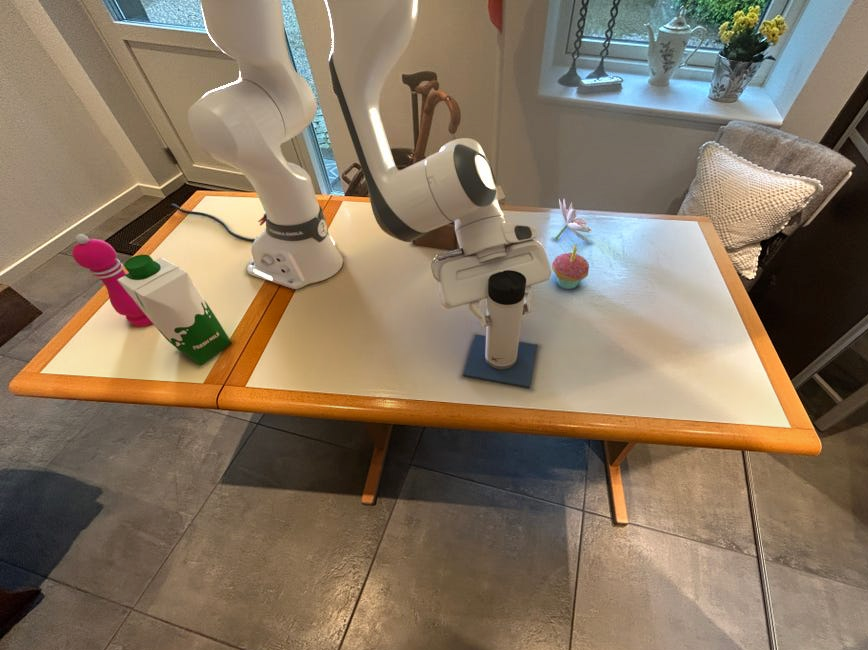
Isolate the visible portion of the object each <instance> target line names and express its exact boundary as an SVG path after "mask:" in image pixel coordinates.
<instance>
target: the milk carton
mask: <svg viewBox="0 0 868 650" xmlns="http://www.w3.org/2000/svg"><path fill="white" fill-rule="evenodd" d="M123 268H124V269H125V270H126V271H127V272H128V273H126V275H124V277H121V278H119V279H118V281H119V283H120V284H121V285H122V286H123V288H124V289H125V290H126V292H127V293H128V294H129V295H130V296H131V297H132V299H133V300H134V301H135V302H136V304H137V305H138V306H139V307H140V309H141V310H142V311H143V312H144V313H145V315H146V316H147V317H148V318H149V319H150V321H151V322H152V323H153V324H152V325H153V326H154V327H155V328H156V329H157V330H158V331H159V332H160V334H161V335H162V336H163V337H164V338H165V339H166V341H167V342H169V343H170V344H171V345H172V346H173V347H174V348H175V349H177V350H178V351H179V352H180V353H182V354H183V355H185V356H186V357H188V358H189V359H191V360H193V361H194V362H195V363H197V364H198V365H200V366H203V365H204V364H205V363H206V362H207V361H210V360H211V359H212V358H214V357H215V356H216V355H218V354H219V353H220V352H222V351H223V350H224V349H226V348H227V347H228V348H229V346H230V345H232V344H233V342H232V340H231V339H230V338H229V335H228V334H227V333H226V331H225V329H224V328H223V326H222V325H221V322H220V321H219V319H218V318H217V316H216V315H215V313H214V312H213V310H212V309H211V307H210V306H209V304H208V303H207V301H206V300H205V298H204V297H203V295H202V294H201V292H200V291H199V289H198V288H197V287H196V285H195V284H194V282H193V280H192V278H191V277H190V275H189V273H188V271H186V270H184V269H181V267H180V266H178V265H176V264H174V263H172V262H170V261H168V260H167V259H165V258H162V257H159V258H157V259H155V260H154V259H153V258H152V257H151V255H148V254H137V255H134V256H131V257H129V258H127V260H125V261H124V263H123Z"/></svg>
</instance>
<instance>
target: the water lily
mask: <svg viewBox="0 0 868 650" xmlns="http://www.w3.org/2000/svg"><path fill="white" fill-rule="evenodd" d="M558 202H559V203H558V204H559V209H560V213H561V216H562V218H563V220H564V223H565V226H563V228H562V229H561V230H560V231H559V232H558V234H557V235H556V236H555V238H554V240H556V241H557V240H558V239H559V237H560V236H561V235H562V233H564V232H565V230H566V229H567V228H568V229H569V230H570V231H571V232H572V233H573V234H574V235H576V237H578V238H579V239H581V240H582V241H584V242H585V243H588V244H591V242H590V241H589V240H588V238H586V237H585V236H584V235H582V233H591V232H592V229H591V228H590V227H589V226H586V225H587V224H588V222H587V221H585V219H584V218H582V217H577V210H576V209H574V207H573V202H572V201H571V202H570V205H569V207H568V209H567V205H566V199H563V203H562V201H561V198H559V199H558ZM567 210H568V211H567ZM579 232H581V233H579Z"/></svg>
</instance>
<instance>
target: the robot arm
mask: <svg viewBox="0 0 868 650" xmlns="http://www.w3.org/2000/svg"><path fill="white" fill-rule="evenodd" d="M199 2H200V3H199V4H200V7H201V11H202V17H203V21H204V26H205V30H206V32H207V34H208V36H209V38H210V39H211V41H212V42H213V43H214V44H215V46H216V47H217V48H219V49H220V51H222V52H223V53H224V54H225V55H227V56H228V57H230V58H232V59H234V60H235V61H236V63H237V66H238V70H239V77H238V79H237V80H236V81H234V82H231V83H228V84H226V85H223V86H220V87H218V88H215V89H212V90H210V91H207V92H206V93H205V94H204V95H203V96H202V97H200V98H198V100H196V101H195V102H194V103H193V104H192V105H191V106H190V107H189V108H188V111H187V123H188V129H189V130H190V133H191V135H192V138H193V139H194V141H195V142H196V144H197V146H199V147H200V149H201V150H202V151H203V152H204V153H206V154H207V155H208V156H209V157H211V159H213V160H215V161H217V162H219V163H221V164H223V165H226V166H229V167H231V168H234V169H236V170H237V171H238V172H239V173H241V174H242V175H243V176H244V177H245V178H246V179H247V180H248V182H249V183H250V185H251V186H252V187H253V189H254V191H255V193H256V195H257V197H258V199H259V201H260V203H261V206H262V208H263V210H264V213H263V216H262V217H260V219H259V220H258V221H257V222H258V223H259V226H262V225H264V224H265V228H264V229H263V231H261V233H260V234H258V235H257V236H256V237H255V238H249V237H245V236H242V235H239V234H237V233H235V232H233V231H232V230H231V229H230V228H229V227H228V225H227V224H226V223H225V222H224V221H223V220H221V219H219V218H218V217H216V216H214V215H212V214H209V213H206V212H200V211H192V210H186V209H185V208H184V209H183V208H182V207H180V206H178V205H177V204H175V203H171V204H170V205H169V208H170V209H173V208H175V209H176V210H178V211H180V212H181V213H184V214H190V215H195V216H196V215H197V216H204V217H206V218H210V219H212V220H214V221H215V222H217V223H219V224H220V225H221V226H223V228H224V229H225V230H226V232H227V233H228V234H229V235H231V236H232V237H234V238H237V239H239V240H242V241H245V242H249V243H250V242H252V245H251V249H250V251H251V256H252V257H251V258H250V260H249V261H248V264H247V267H246V271H247V274H248V275H250V276H253V277H256V278H259V279H262V280H265V281H268V282H271V283H274V284H277V285H280V286H283V287H286V288H289V289H292V290H298V289H299V290H300V289H301V288H303V287H305V286H307V285H311V284H314V283H319V282H323V281H325V280H327V279H329V278H332V277H333V276H335V275H336V274H337V273H338V272H339V271H340V270H341V268H342V267H343V263H344V258H343V256H342V255H341V253H340V252H339V250H338V249H337V247H336V242H335V241H334V239H333V237H332V236H331V235H330V233H329V230H328V223H327V220H326V217H325V213H324V211H323V208H322V206H321V205H320V204H319V201H318V198H317V194H316V191H315V188H314V184H313V181H312V178H311V176H310V174H309V173H308V171H306V170H305V169H304V168H302V167H301V166H300V165H299V164H296V163H293V162H289V161H287V159H286V157H285V156H284V155H283V151H282V148H281V147H282V145H283V144H285V143H286V142H288V141H290V140H291V139H293V138H295V137H296V136H298V135H300V134H303V132H304V131H306V129H307V128H308V127H309V126H310V125H311V123H312V122H313V121H314V120H315V118H316V116H317V113H318V104H317V99H316V97H315V94H314V92H313V90H312V88H311V86H310V85H309V83H308V81H306V79H305V78H304V77H303V76H301V74H300V73H298V72H297V71H296V69H295V68H294V66H293V63H292V61H291V57H290V53H289V51H288V46H287V41H286V33H285V23H284V13H283V3H282V0H199ZM324 2H325V5H326V9H327V12H328V17H329V21H330V22H329V23H330V28H331V39H332V41H331V42H332V43H331V44H332V45H331V47H332V48H331V49H330V54H329V57H328V67H329V72H330V77H331V80H332V84H333V87H334V90H335V94H336V97H337V101H338V103H339V107H340V110H341V112H342V115H343V118H344V121H345V124H346V128H347V130H348V133H349V136H350V140H351V142H352V145H353V147H354V151H355V154H356V157H357V159H358V161H359V165H360V168H361V171H362V175H363V177H364V180H365V184H366V187H367V192H368V196H369V201H370V207H371V210H372V214H373V215H374V216H373V217H374V219H375V221H376V223H377V225H378V227H379V228H380V229H381V230H382V231H383V232H384V233H385V234H387V235H388V236H390V237H391V238H394V239H396V240H398V241H401V242H405V243H412V242H413V240H415V239H417V238H419V237H421V236H423V235H425V234H427V233H428V232H429V231H431V230H434V229H436V228H439V227H441V226H444V225H447V224H449V223H452V222H455V233H456V236H457V240H458V243H459V248H458V249H456V250H449V251H447V252H441V253H440V252H439V253H438V254H436V256H435V257H434V258H433V259H432V260H431V262H430V270H431V272H432V276H433V278H434V279H435V280H436V281H437V287H438V292H439V298H440V301H441V304H442V306H443V307H444V308H446V309H447V310H451V309H454V308H457V307H461V306H464V305H468V309H469V311H470V312H471V313H472V314H473V315H474V316H475V317H476V318H477V319H478V321H479V324H480V327H481V328H486V326H489V325H491V324H492V323H491V321H490V316H489V315H487V314H486V315H485V314H484V313H483V312H482V311H481V310H480V309H479V308H480V307H481V304H480V301H481V300H486V299H487V297H488V280H489V277H490V276H491V275H493V274H496V273H498V272H503V271H505V270H512V271H517V272H519V273H521V274H523V275H524V276H525V277H526V288H525V297H524V306H523V314H522V316H524V315H527V314H531V313H532V308H531V304H530V303H531V299H532V294H533V289H532V286H534V285H537V284H541V283H544V282H547V281H549V280H550V278H551V276H552V267H551V264H550V262H549V257H548V256H547V252H546V249H545V248H544V246H543V244H542V243H541V242H540V241H538V240H537V239H536V238H537V237H538V231H537V228H536V227H535V226H534V225H530V224H521V223H513V222H507V221H506V217H505V214H504V212H503V211H502V208H501V207H500V203H499V192H498V186H497V183H496V178H495V175H494V171H493V168H492V165H491V163H490V161H489V160H488V158H487V157H486V154H485V152H484V150H483V147H482V146H481V144H480V143H479V142H478V141H476V140H475V139H473V138H469V137H461V138H455V139H452V140H450V141H448V142H446V143H445V144H444V145H442V146H441V148H440V149H439V151H437V152H435V153H432V154H430V155H429V156H427V157H426V158H424V159H421V160H420V161H417V162H416V163H413V164H411V165H408V166H406V167H405V168H401V169H399V168H398V167H397V166H396V163H395V160H394V156H393V153H392V150H391V146H390V144H389V140H388V138H387V134H386V129H385V127H384V124H383V121H382V117H381V112H380V97H381V93H382V90H383V87H384V85H385V83H386V81H387V79H388V77H389V75H390V74H391V72H392V71H393V69H394V67H396V65H397V63H398V62H399V61H400V59H401V58H402V56H403V55H404V54H405V52H406V50H407V48H408V47H409V45H410V42H411V41H412V38H413V36H414V33H415V31H416V26H417V23H418V17H419V3H420V1H419V0H324ZM180 208H181V209H180Z"/></svg>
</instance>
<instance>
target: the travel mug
mask: <svg viewBox="0 0 868 650" xmlns="http://www.w3.org/2000/svg"><path fill="white" fill-rule="evenodd" d="M525 288H526V277H525V276H524V275H523V274H521V273H519V272H517V271H512V270H505V271H503V272H498V273H496V274H493V275H491V276H490V277H489V280H488V297H487V298H486V299H487V300H486V315H489V316H490V321H491V323H492V324H491V325H489V326H486V327H485V328H486V329H485V336H486V352H485V359H486V362H487V363H488V364H489V365H490V366H491V367H493V368H495V369H500V370H504V369H508V368H510V367H512V366H513V365H514V364H515V363H516V360H517V353H518V345H519V342H520V337H521V330H522V329H521V328H522V321H523V315H522V314H523V306H524V297H525Z"/></svg>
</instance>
